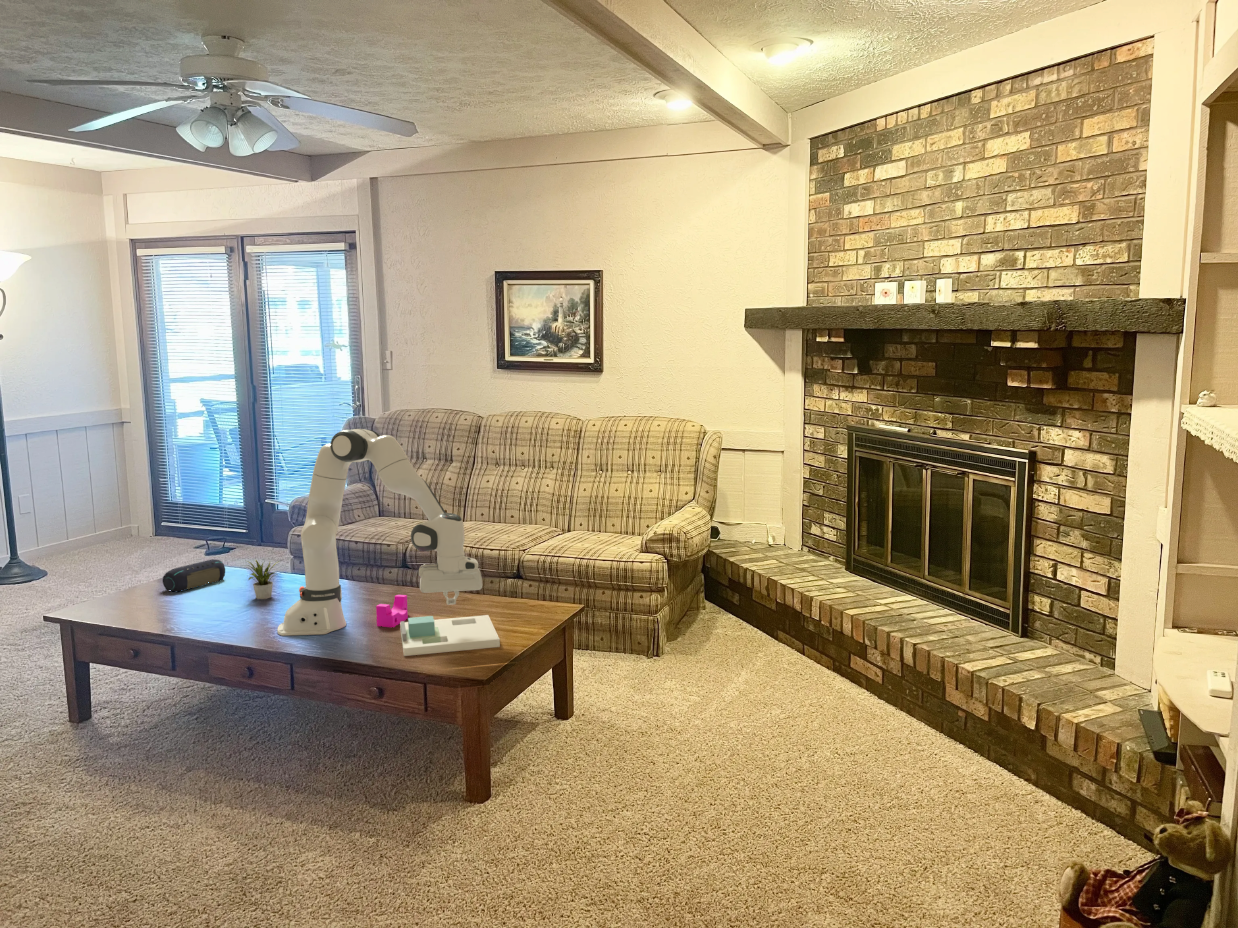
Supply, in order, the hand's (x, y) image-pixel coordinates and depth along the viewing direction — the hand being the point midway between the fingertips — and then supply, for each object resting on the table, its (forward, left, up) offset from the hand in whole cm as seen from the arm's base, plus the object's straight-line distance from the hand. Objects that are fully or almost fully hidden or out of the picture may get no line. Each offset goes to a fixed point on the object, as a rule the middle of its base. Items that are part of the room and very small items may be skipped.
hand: (451, 604), depth 305 cm
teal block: (-10, 0, -9) cm, 13 cm away
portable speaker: (-94, +97, -12) cm, 135 cm away
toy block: (-17, +26, -12) cm, 33 cm away
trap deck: (-1, 0, -12) cm, 12 cm away
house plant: (-67, +70, -12) cm, 98 cm away
